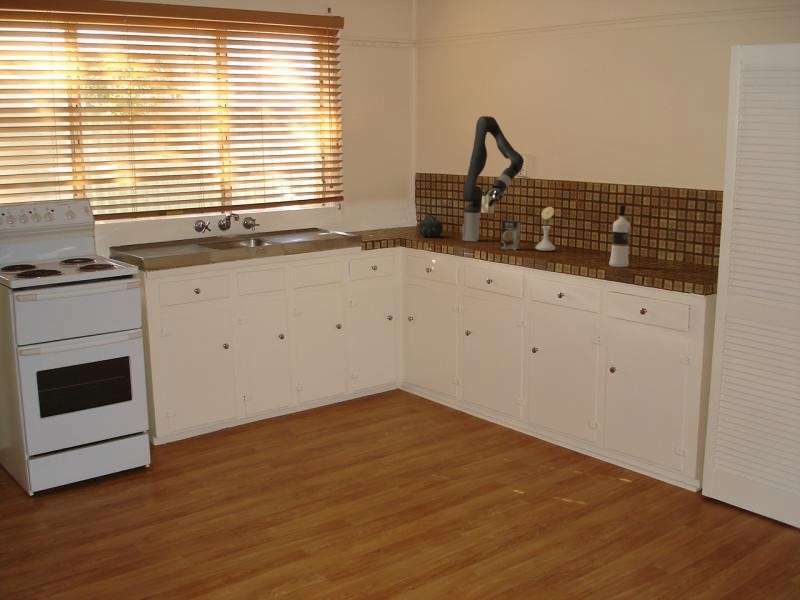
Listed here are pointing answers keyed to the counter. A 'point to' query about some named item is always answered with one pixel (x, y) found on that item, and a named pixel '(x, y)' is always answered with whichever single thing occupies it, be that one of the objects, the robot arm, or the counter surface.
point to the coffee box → (510, 234)
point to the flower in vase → (546, 231)
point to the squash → (430, 227)
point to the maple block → (485, 206)
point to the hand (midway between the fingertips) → (485, 205)
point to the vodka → (620, 241)
